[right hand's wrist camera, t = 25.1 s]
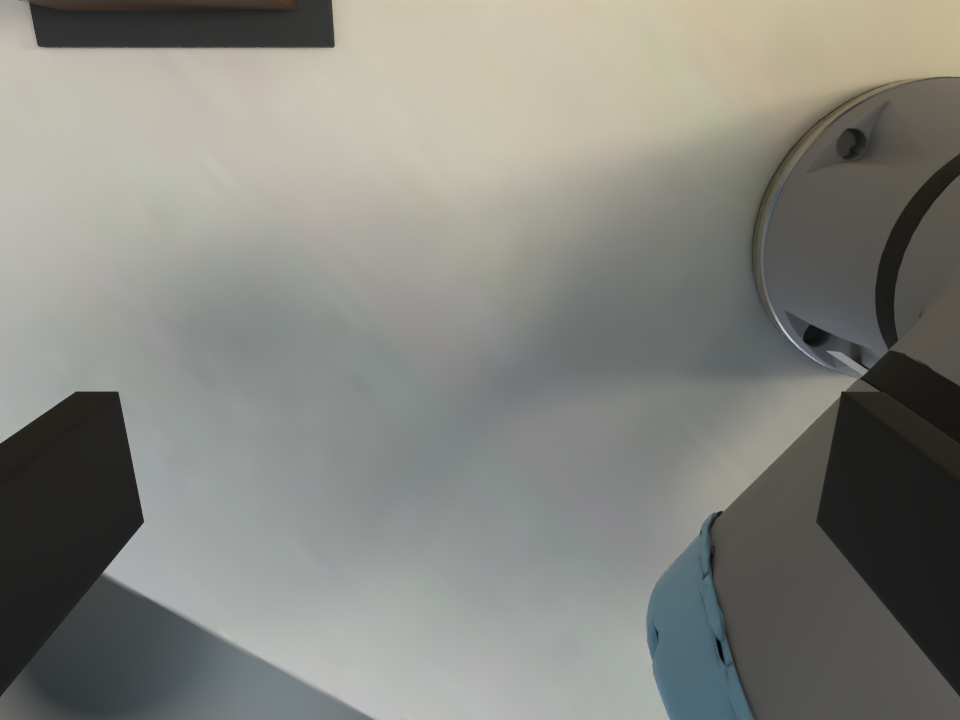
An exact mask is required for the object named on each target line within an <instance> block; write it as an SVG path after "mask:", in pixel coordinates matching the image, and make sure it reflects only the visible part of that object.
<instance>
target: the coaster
mask: <svg viewBox="0 0 960 720" xmlns="http://www.w3.org/2000/svg"><path fill="white" fill-rule="evenodd" d="M29 4H30V9H31V14H32V19H33V24H34V29H35V34H36V39H37V44H38V46H41V47H334V46H335V45H334V30H333V15H332V0H297V10H296V11H61V10H57V9H53V8H49V7H45V6H41V5H37V4H33V3H29Z"/></svg>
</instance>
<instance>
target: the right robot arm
mask: <svg viewBox="0 0 960 720" xmlns="http://www.w3.org/2000/svg"><path fill="white" fill-rule="evenodd" d="M753 268H754V277H755V281H756V286H757V290H758V293H759V296H760V299H761V302H762V304H763V306H764V308H765V310H766V312H767V314H768V316H769V317H770V319H771V320H772V322H773V324H774V325H775V326H776V327H777V329H778V330H779V331H780V333H781V334H782V335H783V336H784V337H785V338H786V339H787V340H788V341H789V342H791V343H792V344H793V345H794V346H796V347H797V348H798V349H799V350H801V351H802V352H803V353H805V354H806V355H807V356H809V357H810V358H812V359H813V360H815V361H817V362H818V363H820V364H822V365H824V366H826V367H828V368H830V369H832V370H835V371H838V372H840V373H843V374H846V375H848V376H851V377H855V378H858V380H857V381H856V382H855V383H854V384H853V385H852V386H851V387H850V388H849V389H848V390H846V391H845V392H842V393H841V396H840V397H839V398H838V399H837V400H836V401H835V402H834V403H833V404H832V405H831V406H830V407H829V408H828V409H827V410H826V411H825V412H824V413H823V414H822V415H821V416H820V417H819V418H818V419H817V420H816V421H815V422H814V423H813V424H812V425H811V426H810V427H809V428H808V429H807V430H806V431H805V432H804V433H803V434H802V435H801V436H800V437H799V438H798V439H797V440H796V441H795V442H794V443H793V444H792V445H791V446H790V447H789V448H788V449H787V450H786V451H785V452H784V453H783V454H782V455H781V456H780V457H779V458H778V459H777V460H776V461H775V462H774V463H773V464H772V465H770V466H769V467H768V468H767V469H766V470H765V471H764V472H763V473H762V474H761V475H760V476H759V477H758V478H757V479H756V480H755V481H754V482H753V483H752V484H751V485H750V486H749V487H748V488H747V489H746V490H745V491H744V492H743V493H742V494H741V495H740V496H739V497H738V498H737V499H736V500H735V501H734V502H733V503H732V504H731V505H730V506H729V507H728V508H727V509H726V510H725V511H720V512H717V513H712V514H711V515H710V516H709V517H708V518H707V519H706V521H705V522H704V523H703V525H702V528H701V531H700V534H699V535H698V536H697V538H696V539H695V540H694V541H693V542H692V543H691V544H690V545H689V546H688V547H687V549H686V550H685V551H684V552H683V553H682V554H681V555H680V556H679V557H678V558H677V560H676V561H675V562H674V563H673V564H672V565H671V566H670V567H669V568H668V569H667V571H666V572H665V573H664V574H663V575H662V576H661V578H660V579H659V581H658V582H657V584H656V585H655V587H654V590H653V592H652V594H651V597H650V601H649V605H648V611H647V622H646V628H647V642H648V647H649V650H650V654H651V657H652V661H653V665H652V666H653V673H654V677H655V680H656V683H657V686H658V689H659V692H660V695H661V698H662V701H663V703H664V706H665V709H666V711H667V714H668V716H669V718H670V720H960V77H934V78H921V79H913V80H906V81H900V82H896V83H893V84H889V85H885V86H882V87H879V88H877V89H874V90H871V91H869V92H867V93H864V94H862V95H860V96H858V97H856V98H854V99H852V100H851V101H849V102H847V103H845V104H844V105H842V106H840V107H839V108H837V109H836V110H834V111H833V112H832V113H830V114H829V115H827V116H826V117H825V118H824V119H822V120H821V121H820V122H819V123H818V124H816V125H815V126H814V127H813V128H812V129H811V130H810V131H809V132H808V133H807V134H806V135H805V136H804V137H803V138H802V139H801V140H800V141H799V142H798V144H797V145H796V146H795V147H794V148H793V149H792V151H791V152H790V153H789V155H788V156H787V157H786V159H785V160H784V161H783V163H782V164H781V166H780V168H779V169H778V171H777V173H776V174H775V176H774V178H773V180H772V182H771V184H770V186H769V188H768V190H767V192H766V194H765V197H764V200H763V202H762V205H761V208H760V211H759V215H758V218H757V222H756V227H755V233H754V241H753ZM143 523H144V519H143V514H142V509H141V504H140V499H139V494H138V489H137V484H136V479H135V474H134V469H133V464H132V459H131V454H130V449H129V444H128V438H127V433H126V428H125V423H124V418H123V413H122V408H121V403H120V398H119V393H118V392H75V393H73V394H72V395H70V396H69V397H68V398H66V399H65V400H63V401H62V402H60V403H59V404H57V405H56V406H54V407H53V408H52V409H50V410H49V411H47V412H46V413H44V414H43V415H41V416H40V417H38V418H37V419H36V420H34V421H33V422H31V423H30V424H28V425H27V426H25V427H24V428H22V429H21V430H20V431H18V432H17V433H15V434H14V435H12V436H11V437H9V438H8V439H6V440H5V441H4V442H2V443H1V444H0V696H1V695H2V694H3V693H4V692H5V690H6V689H7V688H8V687H9V685H10V684H11V683H12V682H13V681H14V679H15V678H16V677H17V676H18V674H19V673H20V672H21V671H22V670H23V669H24V667H25V666H26V665H27V664H28V662H29V661H30V660H31V659H32V658H33V656H34V655H35V654H36V653H37V652H38V650H39V649H40V648H41V647H42V645H43V644H44V643H45V642H46V641H47V639H48V638H49V637H50V636H51V634H52V633H53V632H54V631H55V630H56V628H57V627H58V626H59V625H60V624H61V622H62V621H63V620H64V619H65V617H66V616H67V615H68V614H69V613H70V611H71V610H72V609H73V608H74V607H75V605H76V604H77V603H78V602H79V600H80V599H81V598H82V597H83V596H84V594H85V593H86V592H87V591H88V590H89V588H90V587H91V586H92V585H93V583H94V582H95V581H96V580H97V579H98V577H99V576H100V575H101V574H102V573H103V571H104V570H105V569H106V568H107V566H108V565H109V564H110V563H111V562H112V560H113V559H114V558H115V557H116V555H117V554H118V553H119V552H120V551H121V549H122V548H123V547H124V546H125V545H126V543H127V542H128V541H129V540H130V538H131V537H132V536H133V535H134V534H135V532H136V531H137V530H138V529H139V528H140V526H141V525H142V524H143Z"/></svg>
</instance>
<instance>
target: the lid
mask: <svg viewBox="0 0 960 720" xmlns="http://www.w3.org/2000/svg"><path fill="white" fill-rule="evenodd" d="M20 1H25V2H29V3H33V4H37V5H41V6H45V7H49V8H53V9H57V10H61V11H296V10H297V0H20Z"/></svg>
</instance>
